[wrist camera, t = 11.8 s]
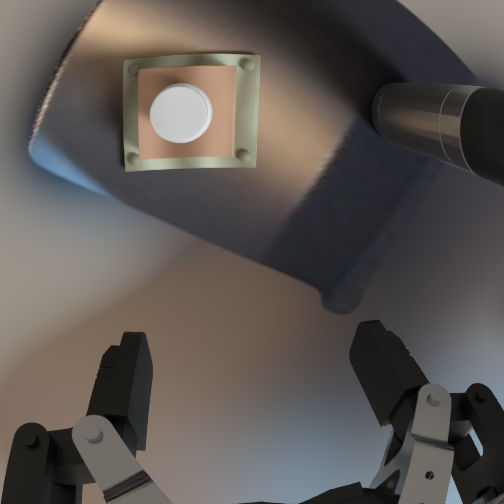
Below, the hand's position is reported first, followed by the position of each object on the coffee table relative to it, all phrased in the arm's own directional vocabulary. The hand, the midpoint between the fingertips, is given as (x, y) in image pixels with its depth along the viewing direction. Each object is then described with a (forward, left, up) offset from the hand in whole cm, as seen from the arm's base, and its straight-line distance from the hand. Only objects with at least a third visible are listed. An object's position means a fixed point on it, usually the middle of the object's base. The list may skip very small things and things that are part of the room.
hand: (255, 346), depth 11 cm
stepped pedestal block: (+4, -8, -30) cm, 31 cm away
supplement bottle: (+4, -8, -22) cm, 23 cm away
